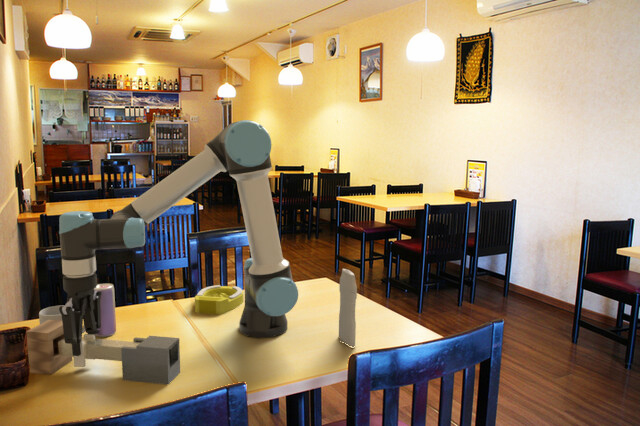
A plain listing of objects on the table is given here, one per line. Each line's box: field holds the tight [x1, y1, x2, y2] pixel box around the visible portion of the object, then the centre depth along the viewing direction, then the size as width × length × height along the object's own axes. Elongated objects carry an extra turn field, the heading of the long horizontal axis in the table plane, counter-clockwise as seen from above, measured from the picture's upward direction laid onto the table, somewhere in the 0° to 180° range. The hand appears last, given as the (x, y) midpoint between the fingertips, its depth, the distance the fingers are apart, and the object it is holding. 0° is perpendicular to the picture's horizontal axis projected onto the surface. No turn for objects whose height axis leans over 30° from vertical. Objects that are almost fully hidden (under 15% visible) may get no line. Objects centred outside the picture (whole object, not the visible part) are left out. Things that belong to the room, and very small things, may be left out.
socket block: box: [25, 320, 73, 376], centre depth 123 cm, size 6×8×11 cm
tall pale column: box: [338, 268, 358, 347], centre depth 140 cm, size 11×4×22 cm, turn 21°
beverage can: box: [94, 283, 117, 338], centre depth 144 cm, size 6×6×15 cm
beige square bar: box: [58, 337, 140, 362], centre depth 120 cm, size 28×4×4 cm, turn 81°
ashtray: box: [194, 284, 245, 315], centre depth 173 cm, size 16×21×5 cm
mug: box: [38, 304, 86, 334], centre depth 135 cm, size 12×8×11 cm
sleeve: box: [121, 335, 181, 385], centre depth 119 cm, size 12×6×9 cm, turn 81°
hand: (85, 362), depth 122 cm, fingers closed on beige square bar, 4 cm apart
